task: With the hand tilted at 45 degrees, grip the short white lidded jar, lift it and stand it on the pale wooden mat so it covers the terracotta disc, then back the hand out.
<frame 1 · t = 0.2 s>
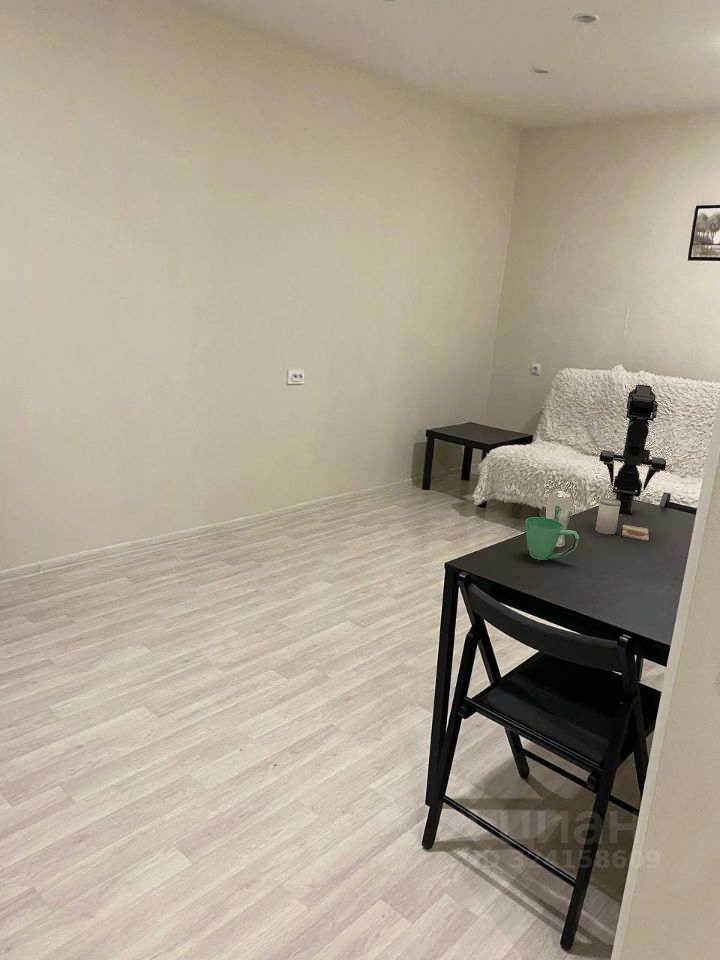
hand: (627, 487, 222), 15 cm above the table, tool pointing down, fingers open, 9 cm apart
mug: (547, 560, 197), on the table
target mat: (635, 533, 226), on the table
white lidded jar: (605, 531, 226), on the table
beer glass: (553, 544, 211), on the table
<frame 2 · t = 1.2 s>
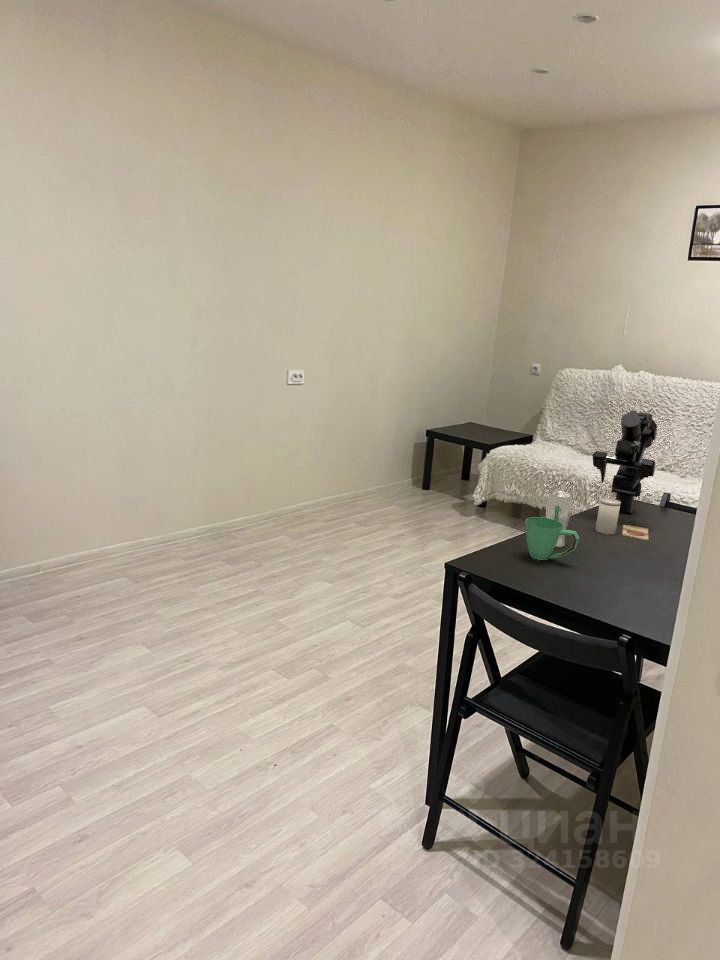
hand: (616, 485, 229), 13 cm above the table, tool tilted 45°, fingers open, 9 cm apart
nothing on the table moved.
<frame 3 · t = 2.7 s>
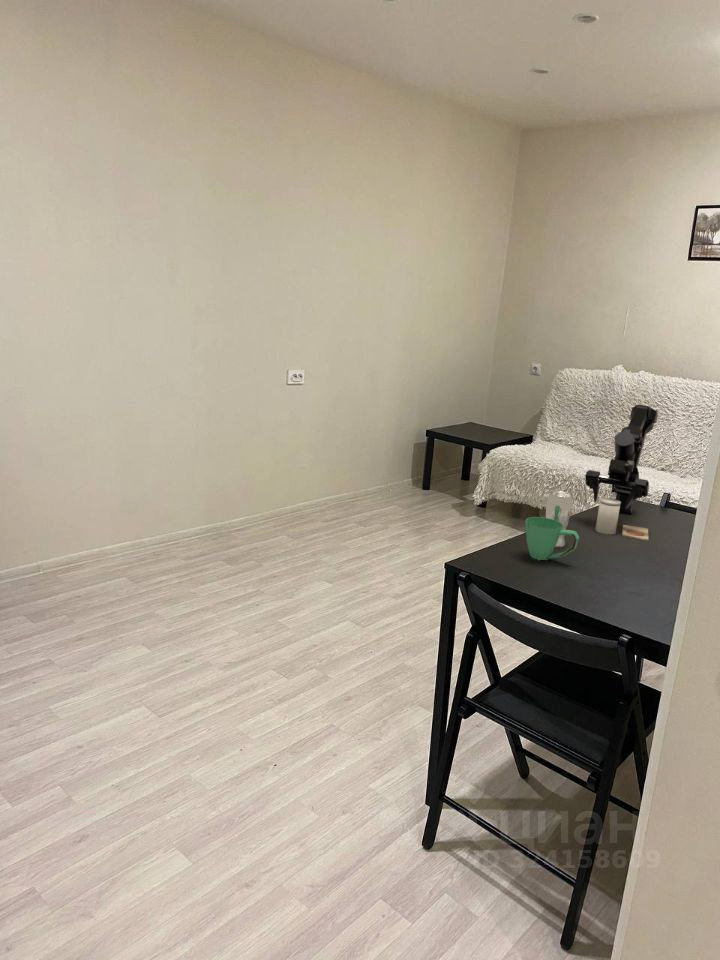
hand: (609, 505, 224), 8 cm above the table, tool tilted 45°, fingers open, 9 cm apart
nothing on the table moved.
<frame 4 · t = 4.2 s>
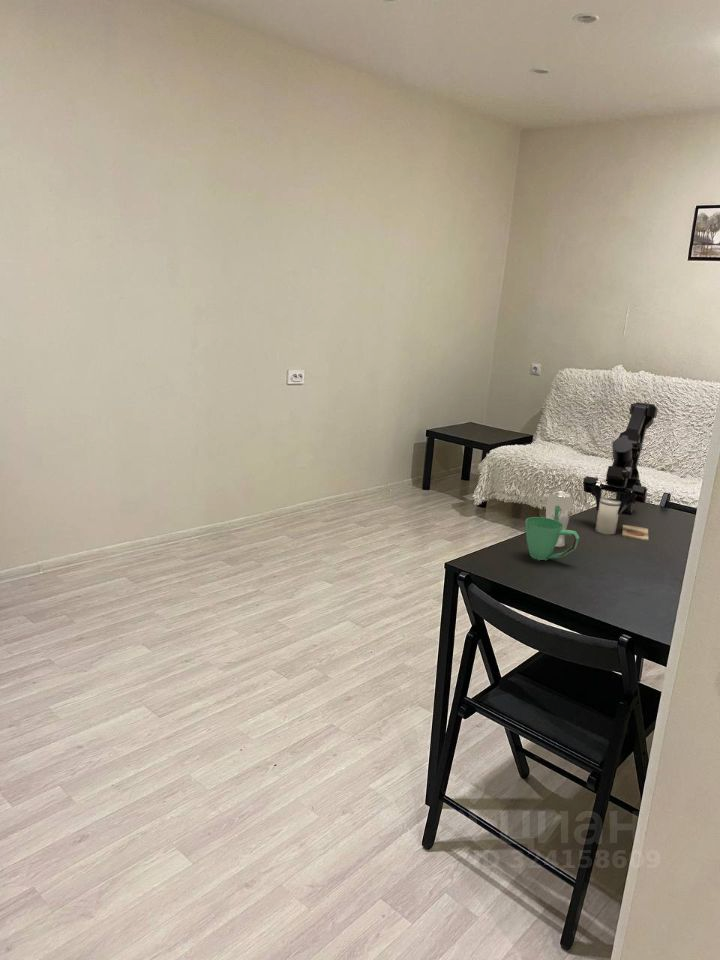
hand: (607, 512, 223), 7 cm above the table, tool tilted 45°, fingers closed on white lidded jar, 6 cm apart
white lidded jar: (605, 531, 226), on the table, touching gripper
everything else where it was.
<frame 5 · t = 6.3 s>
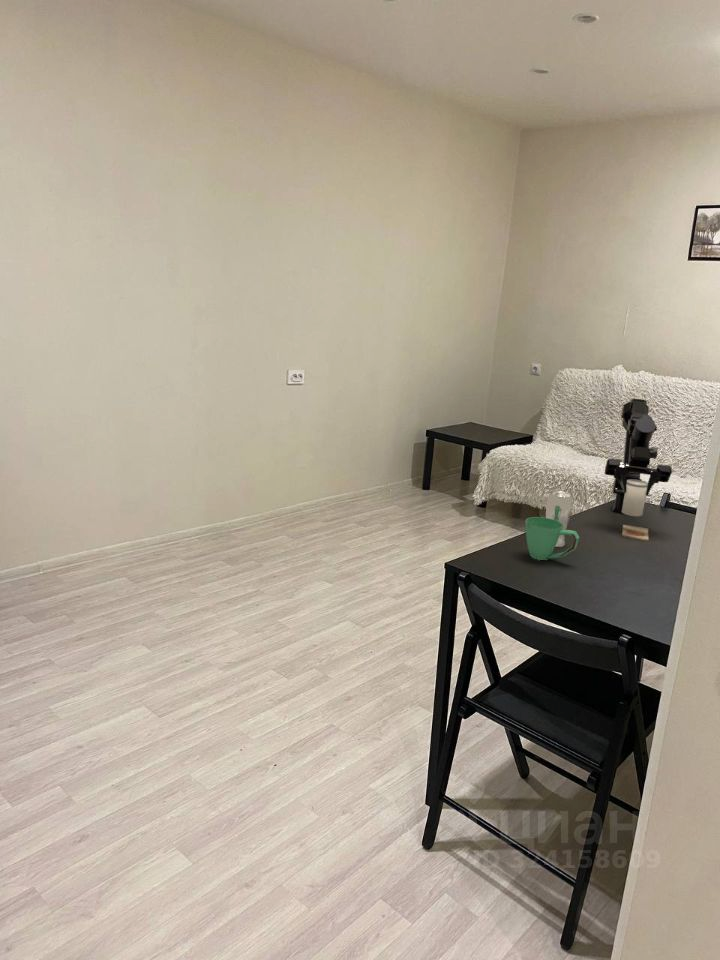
hand: (636, 493, 220), 13 cm above the table, tool tilted 45°, fingers closed on white lidded jar, 6 cm apart
white lidded jar: (631, 513, 223), point 7 cm above the table, touching gripper
everything else where it was.
when the fingers open (8 cm above the table, at t = 8.2 s): white lidded jar stays where it is, resting on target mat.
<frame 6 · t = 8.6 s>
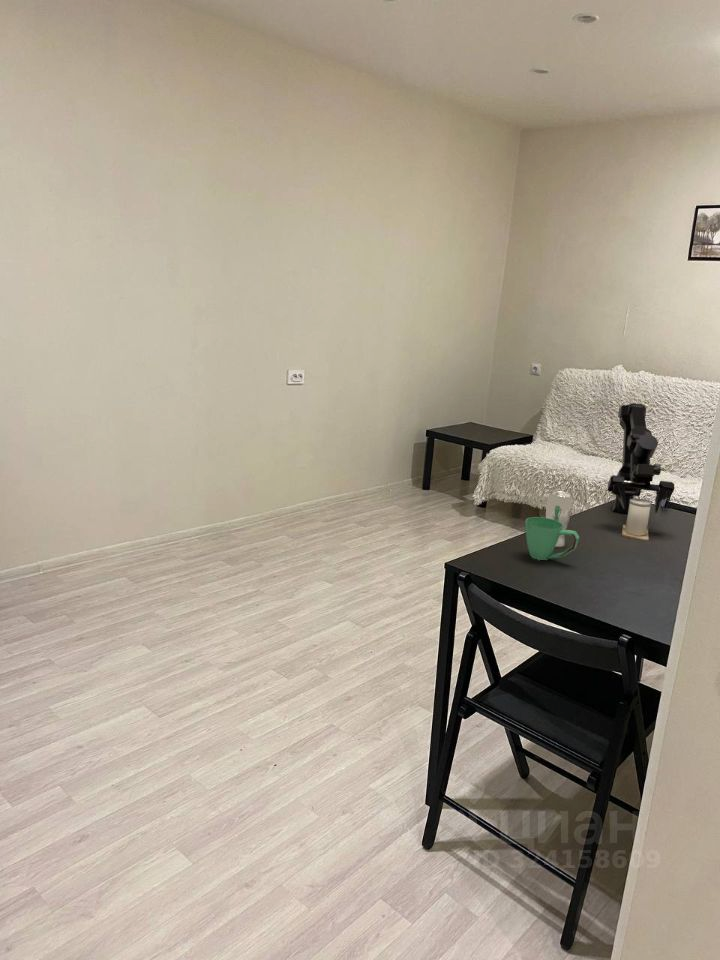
hand: (640, 510, 221), 8 cm above the table, tool tilted 45°, fingers open, 9 cm apart
white lidded jar: (635, 532, 224), point 1 cm above the table, touching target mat
everything else where it was.
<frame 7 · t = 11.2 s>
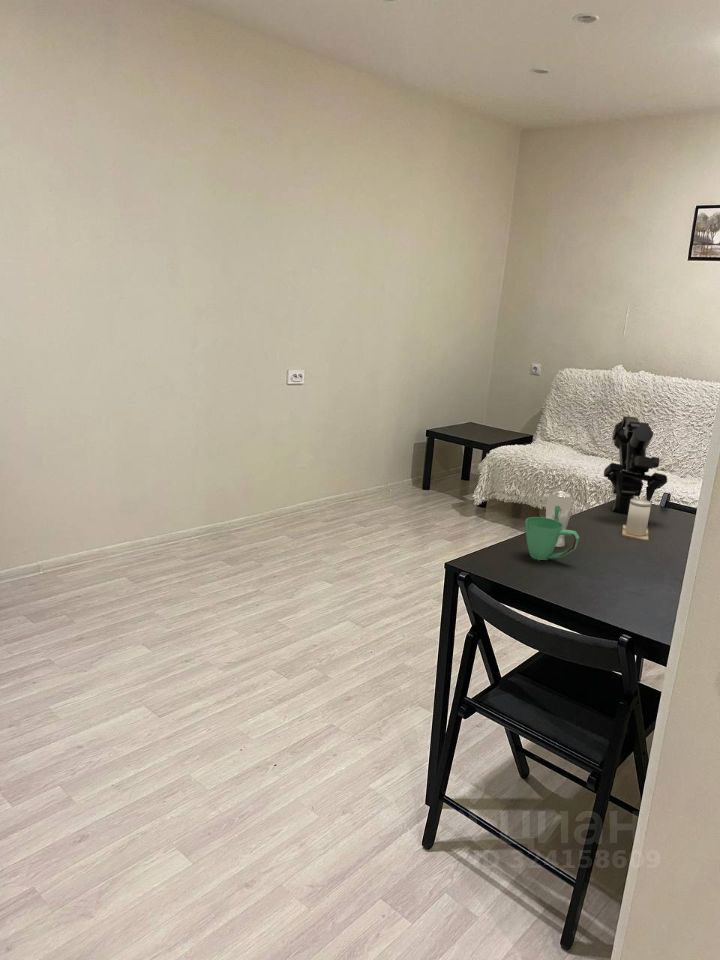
hand: (634, 499, 230), 9 cm above the table, tool tilted 40°, fingers open, 9 cm apart
nothing on the table moved.
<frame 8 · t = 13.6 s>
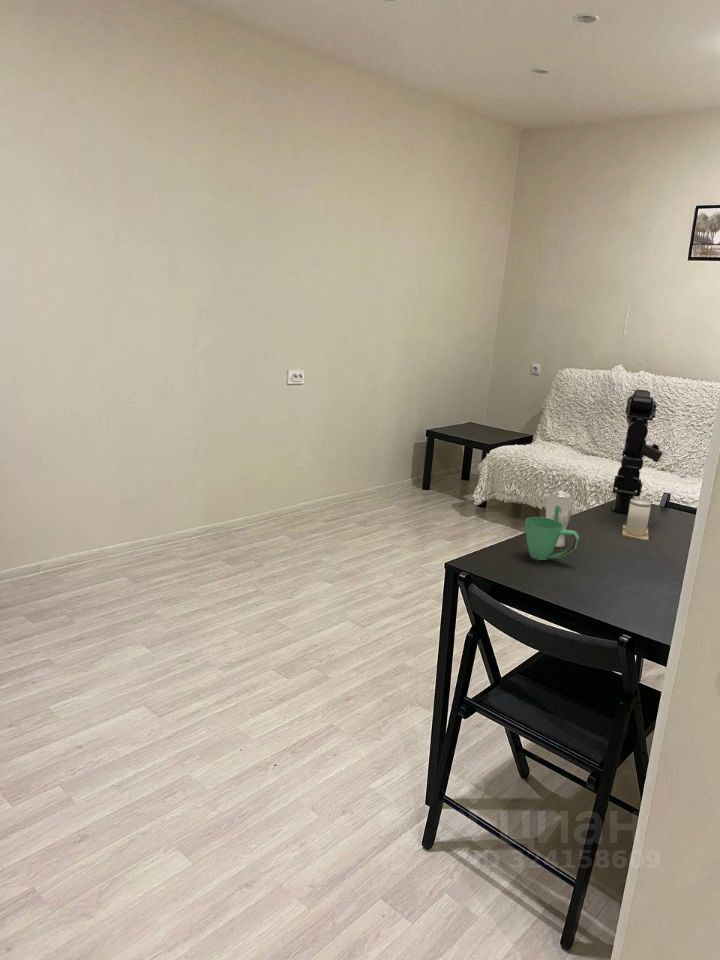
hand: (628, 483, 234), 13 cm above the table, tool pointing down, fingers open, 9 cm apart
nothing on the table moved.
at the end: white lidded jar 0.1 cm from the target spot, point 0.8 cm above the table; white lidded jar tilted 0°; the gripper is holding nothing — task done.
